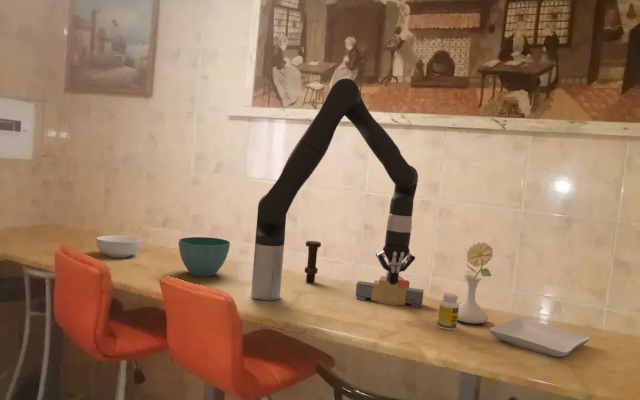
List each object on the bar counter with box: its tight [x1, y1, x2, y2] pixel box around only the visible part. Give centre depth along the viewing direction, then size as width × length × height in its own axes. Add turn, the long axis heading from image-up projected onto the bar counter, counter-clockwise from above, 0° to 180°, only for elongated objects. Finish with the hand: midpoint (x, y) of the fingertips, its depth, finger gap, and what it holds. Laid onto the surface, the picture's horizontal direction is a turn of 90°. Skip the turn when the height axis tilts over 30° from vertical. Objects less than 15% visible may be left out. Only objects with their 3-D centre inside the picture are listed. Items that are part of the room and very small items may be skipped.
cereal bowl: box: [95, 235, 142, 259], centre depth 223 cm, size 17×17×7 cm
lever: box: [385, 270, 411, 288], centre depth 180 cm, size 16×3×2 cm, turn 9°
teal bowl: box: [178, 236, 231, 278], centre depth 203 cm, size 18×18×12 cm
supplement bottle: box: [437, 292, 460, 331], centre depth 163 cm, size 5×5×10 cm
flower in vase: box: [457, 242, 494, 325], centre depth 170 cm, size 13×11×25 cm
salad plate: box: [488, 317, 591, 358], centre depth 156 cm, size 21×21×3 cm
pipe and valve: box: [355, 275, 425, 309], centre depth 187 cm, size 7×22×8 cm, turn 77°
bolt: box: [304, 240, 322, 284], centre depth 205 cm, size 6×5×15 cm
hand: (392, 284), depth 175 cm, fingers closed
